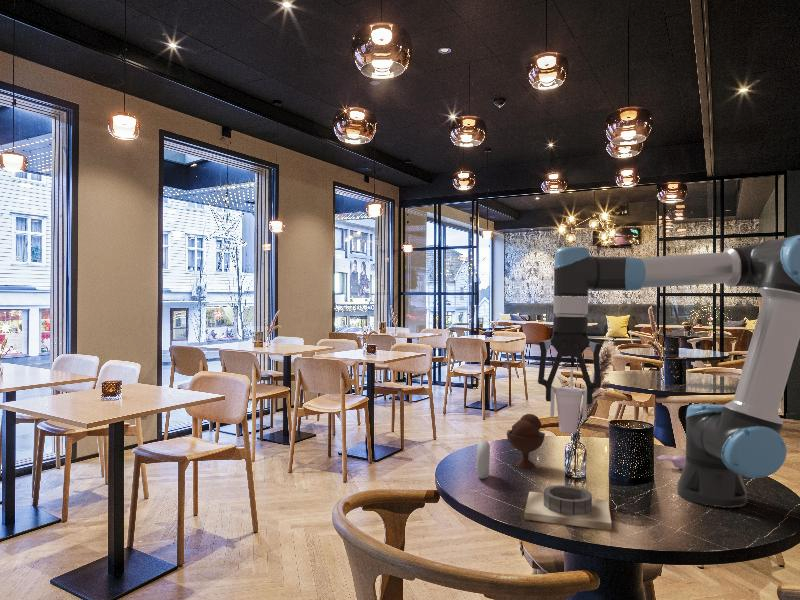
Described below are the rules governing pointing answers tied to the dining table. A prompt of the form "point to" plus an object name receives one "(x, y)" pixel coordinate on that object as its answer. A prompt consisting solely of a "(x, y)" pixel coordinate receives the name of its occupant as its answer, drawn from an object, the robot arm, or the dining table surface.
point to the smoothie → (568, 406)
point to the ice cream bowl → (526, 438)
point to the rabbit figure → (674, 460)
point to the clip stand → (568, 507)
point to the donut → (483, 459)
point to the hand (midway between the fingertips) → (568, 416)
